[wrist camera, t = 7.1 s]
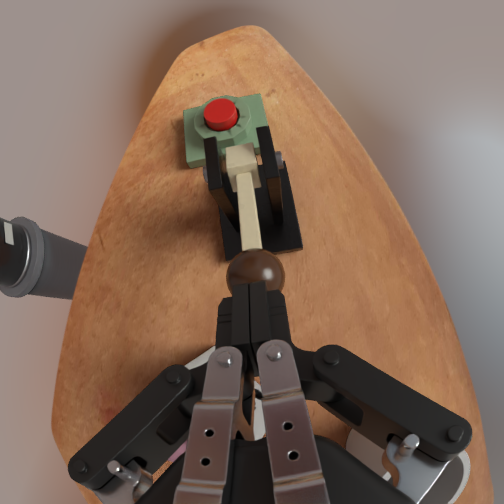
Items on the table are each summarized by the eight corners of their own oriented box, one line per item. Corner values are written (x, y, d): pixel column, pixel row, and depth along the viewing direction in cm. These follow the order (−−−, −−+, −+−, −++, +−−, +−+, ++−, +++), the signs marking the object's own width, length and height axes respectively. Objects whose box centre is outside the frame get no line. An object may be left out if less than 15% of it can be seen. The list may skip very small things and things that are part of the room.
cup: (373, 485, 26) (400, 543, 14) (329, 442, 28) (346, 499, 16) (433, 435, 26) (483, 476, 15) (394, 388, 28) (442, 421, 17)
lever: (291, 311, 17) (286, 281, 15) (235, 320, 17) (220, 292, 15) (264, 168, 25) (258, 136, 23) (226, 175, 25) (217, 144, 23)
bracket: (302, 249, 33) (310, 210, 20) (228, 262, 33) (191, 232, 21) (285, 165, 35) (280, 94, 22) (216, 178, 35) (182, 115, 23)
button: (208, 134, 33) (204, 126, 31) (205, 110, 34) (202, 102, 32) (239, 127, 33) (237, 118, 31) (235, 104, 34) (233, 95, 32)
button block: (190, 168, 36) (181, 155, 33) (186, 117, 38) (178, 102, 34) (273, 151, 35) (271, 136, 32) (261, 101, 37) (259, 84, 33)
